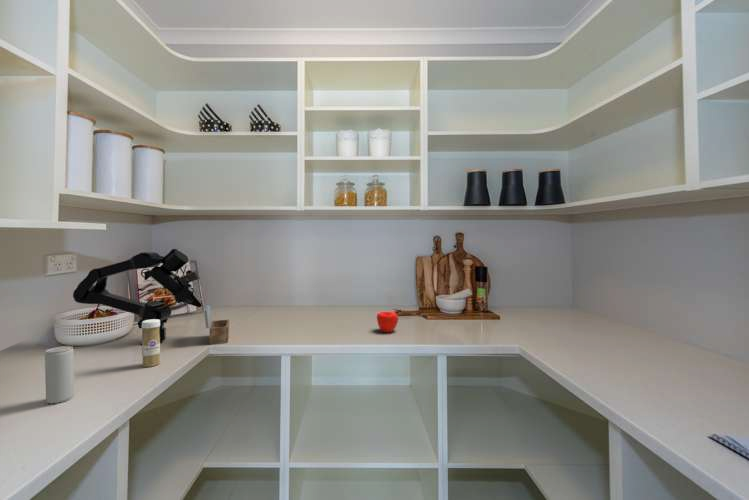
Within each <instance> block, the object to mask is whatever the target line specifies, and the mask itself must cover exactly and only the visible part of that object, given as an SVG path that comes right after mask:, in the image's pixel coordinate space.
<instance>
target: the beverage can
mask: <svg viewBox="0 0 749 500" xmlns="http://www.w3.org/2000/svg"><path fill="white" fill-rule="evenodd" d="M73 347H74V346H72V345H63V346H62V345H61V346H57V347H52V348H49V349H46V350H45V354H44V371H45V372H44V374H45V378H44V379H45V402H46V403H47V404H48V403H58V404H60V403H59V402H62V403H64V402H63V401H65V402H67V401H69V399H70V400H71V399H72V398H73V397H74V396H75V353H74V352H75V349H74V348H73ZM66 400H67V401H66Z"/></svg>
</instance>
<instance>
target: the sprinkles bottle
mask: <svg viewBox="0 0 749 500" xmlns="http://www.w3.org/2000/svg"><path fill="white" fill-rule="evenodd" d="M159 327H160V320H159V319H150V320H145V321H142V328H141V331H142V330H143V331H142V332H141V343H142V345H141V351H142V352H141V353H142V354H141V355H142V367H144V368H149V367H151V368H152V367H155V366H158V365H159V364H161V361H160V358H161V357H160V353H161V343H160V334H159Z"/></svg>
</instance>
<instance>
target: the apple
mask: <svg viewBox="0 0 749 500" xmlns="http://www.w3.org/2000/svg"><path fill="white" fill-rule="evenodd" d="M376 321H377V324H378V328H379V330H381V332H382V333H392V332H393V331H394V330H395V329H396V327H397V324H398V322H399V315H398V313H395V312H392V311H380V312H378V313H377V314H376Z"/></svg>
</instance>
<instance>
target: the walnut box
mask: <svg viewBox="0 0 749 500" xmlns="http://www.w3.org/2000/svg"><path fill="white" fill-rule="evenodd" d="M229 337H230V319H220V320H219V319H218V320H211V323H210V326H209V345H220V344H228V343H229Z"/></svg>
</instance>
